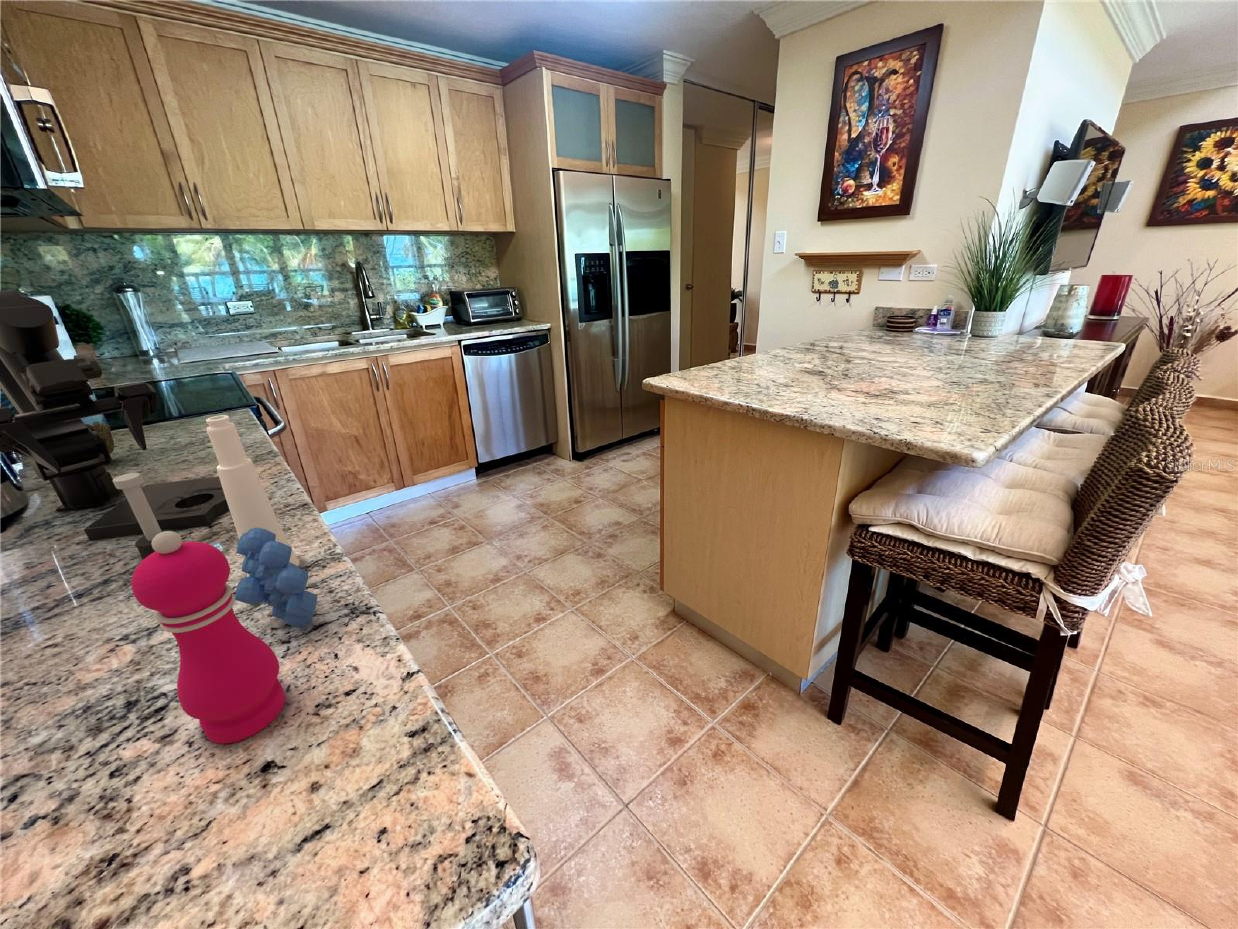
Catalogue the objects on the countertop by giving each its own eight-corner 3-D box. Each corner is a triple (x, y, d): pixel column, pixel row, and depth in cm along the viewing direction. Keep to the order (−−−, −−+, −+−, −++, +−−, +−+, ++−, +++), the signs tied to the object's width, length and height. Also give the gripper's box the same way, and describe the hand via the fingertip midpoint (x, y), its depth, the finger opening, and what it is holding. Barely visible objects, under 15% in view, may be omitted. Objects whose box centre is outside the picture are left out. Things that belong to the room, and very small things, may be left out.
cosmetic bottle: (236, 579, 66) (172, 423, 57) (279, 554, 71) (225, 408, 62) (269, 588, 64) (207, 428, 55) (310, 562, 69) (259, 412, 60)
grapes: (228, 623, 58) (189, 536, 53) (288, 591, 63) (258, 509, 58) (278, 662, 52) (240, 568, 47) (340, 623, 58) (311, 535, 53)
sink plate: (89, 540, 76) (83, 529, 75) (151, 494, 90) (146, 484, 89) (215, 524, 79) (211, 513, 79) (255, 482, 94) (252, 472, 93)
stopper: (135, 563, 70) (95, 486, 65) (153, 546, 74) (117, 472, 69) (171, 557, 71) (135, 481, 66) (187, 541, 75) (154, 468, 70)
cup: (94, 472, 99) (75, 435, 96) (66, 470, 101) (46, 433, 98) (134, 458, 106) (117, 423, 103) (107, 456, 107) (90, 421, 104)
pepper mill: (231, 686, 50) (149, 512, 41) (306, 680, 50) (239, 507, 42) (179, 753, 43) (69, 563, 35) (265, 746, 43) (177, 556, 35)
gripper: (-77, 350, 59) (-6, 452, 58) (125, 328, 74) (184, 409, 73) (-51, 404, 66) (12, 496, 65) (128, 374, 81) (182, 449, 80)
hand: (104, 459), depth 71 cm, fingers open, 9 cm apart
